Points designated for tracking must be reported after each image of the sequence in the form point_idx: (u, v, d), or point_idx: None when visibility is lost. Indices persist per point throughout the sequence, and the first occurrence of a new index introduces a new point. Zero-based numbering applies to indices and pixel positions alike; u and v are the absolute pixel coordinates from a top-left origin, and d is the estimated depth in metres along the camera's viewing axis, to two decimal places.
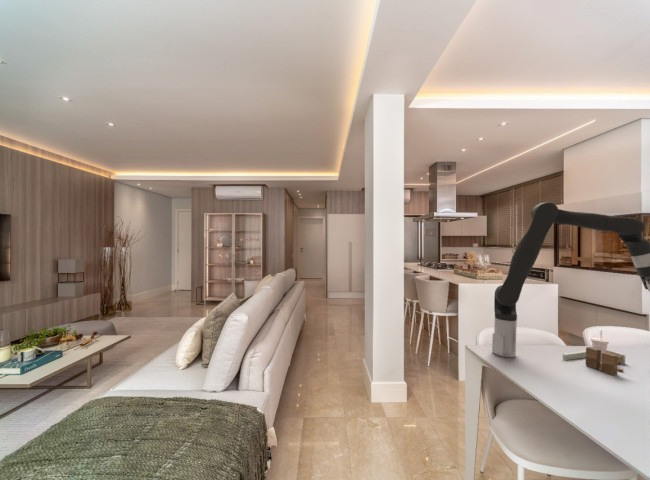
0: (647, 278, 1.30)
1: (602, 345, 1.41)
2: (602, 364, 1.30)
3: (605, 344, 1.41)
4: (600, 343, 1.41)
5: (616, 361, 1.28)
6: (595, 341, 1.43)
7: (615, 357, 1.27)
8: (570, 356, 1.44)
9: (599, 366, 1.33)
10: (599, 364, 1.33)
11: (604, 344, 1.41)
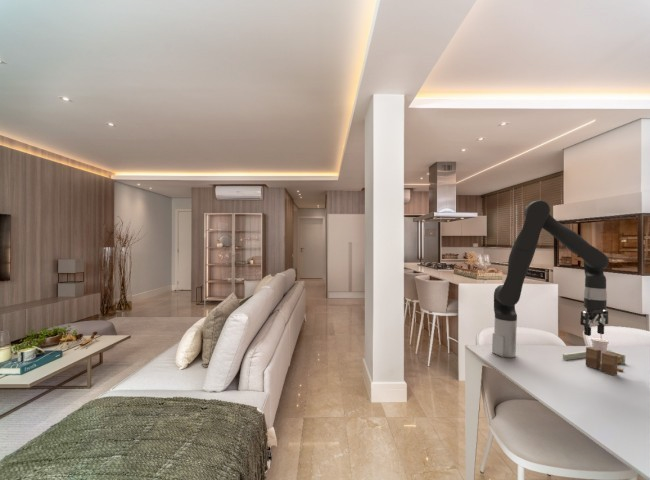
0: None
1: (602, 345, 1.41)
2: (602, 364, 1.30)
3: (605, 344, 1.41)
4: (600, 343, 1.41)
5: (616, 361, 1.28)
6: (595, 341, 1.43)
7: (615, 357, 1.27)
8: (570, 356, 1.44)
9: (599, 366, 1.33)
10: (599, 364, 1.33)
11: (604, 344, 1.41)
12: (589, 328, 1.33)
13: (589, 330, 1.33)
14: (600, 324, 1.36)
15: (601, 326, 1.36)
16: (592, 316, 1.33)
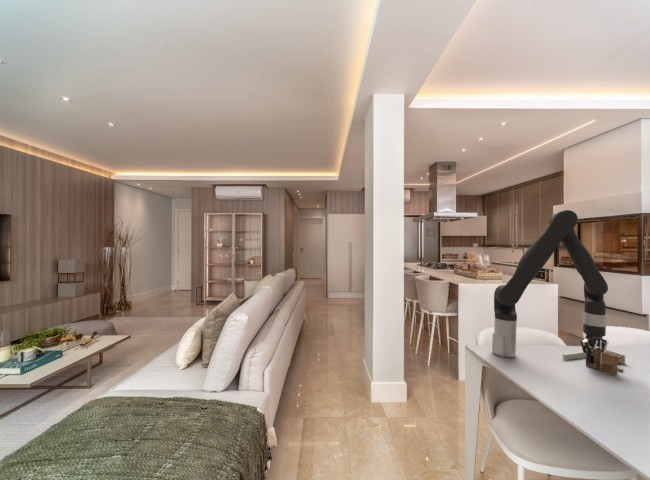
0: None
1: None
2: (602, 364, 1.30)
3: None
4: None
5: (616, 361, 1.28)
6: None
7: (615, 357, 1.27)
8: (570, 356, 1.44)
9: (599, 366, 1.33)
10: (599, 364, 1.33)
11: None
12: (592, 356, 1.34)
13: (592, 358, 1.34)
14: None
15: None
16: (592, 344, 1.33)
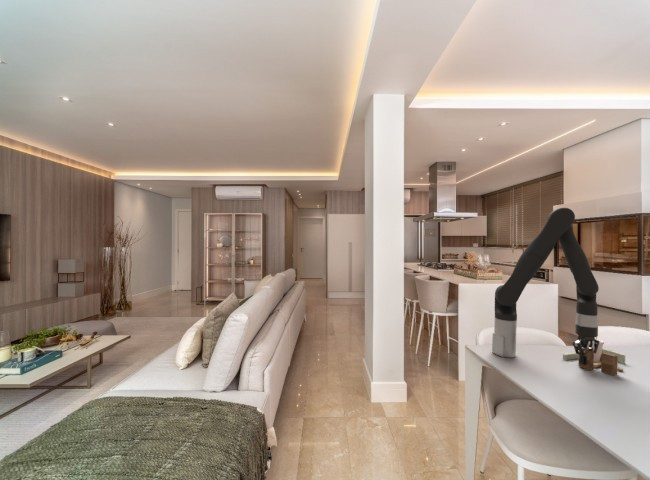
0: None
1: None
2: (602, 364, 1.30)
3: (600, 345, 1.40)
4: None
5: (616, 361, 1.28)
6: None
7: (615, 357, 1.27)
8: (570, 356, 1.44)
9: (591, 367, 1.32)
10: (592, 365, 1.32)
11: (599, 345, 1.40)
12: (584, 357, 1.32)
13: (584, 359, 1.32)
14: None
15: None
16: (584, 345, 1.32)
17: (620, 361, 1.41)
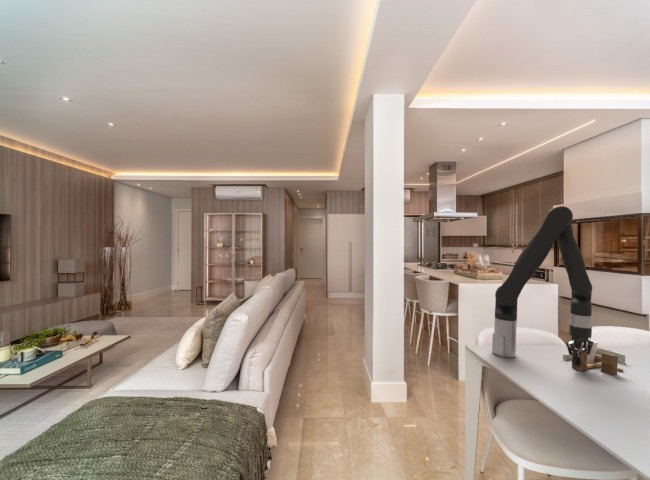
0: None
1: None
2: (602, 364, 1.30)
3: (594, 345, 1.38)
4: None
5: (616, 361, 1.28)
6: None
7: (615, 357, 1.27)
8: (570, 356, 1.44)
9: (585, 368, 1.31)
10: (585, 366, 1.31)
11: (593, 345, 1.38)
12: (578, 358, 1.31)
13: (578, 360, 1.31)
14: None
15: None
16: (578, 345, 1.31)
17: (620, 361, 1.41)
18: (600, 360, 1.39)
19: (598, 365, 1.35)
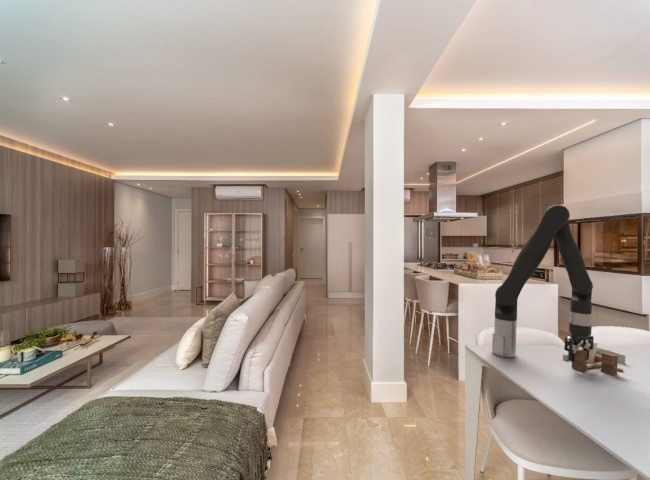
0: None
1: None
2: (602, 364, 1.30)
3: (594, 345, 1.38)
4: (589, 344, 1.39)
5: (616, 361, 1.28)
6: None
7: (615, 357, 1.27)
8: None
9: (585, 368, 1.31)
10: (585, 366, 1.31)
11: (593, 345, 1.38)
12: (573, 354, 1.30)
13: (573, 356, 1.30)
14: (585, 349, 1.34)
15: None
16: (576, 342, 1.30)
17: (620, 361, 1.41)
18: (600, 360, 1.39)
19: (598, 365, 1.35)
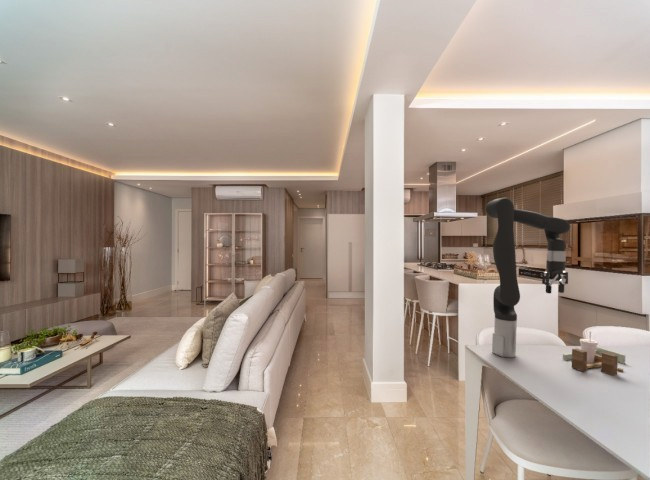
0: None
1: (591, 346, 1.39)
2: (602, 364, 1.30)
3: (594, 345, 1.38)
4: (589, 344, 1.39)
5: (616, 361, 1.28)
6: (584, 342, 1.40)
7: (615, 357, 1.27)
8: (570, 356, 1.44)
9: (585, 368, 1.31)
10: (585, 366, 1.31)
11: (593, 345, 1.38)
12: (550, 286, 1.49)
13: (550, 288, 1.49)
14: (561, 284, 1.52)
15: (561, 286, 1.52)
16: (552, 276, 1.49)
17: (620, 361, 1.41)
18: (600, 360, 1.39)
19: (598, 365, 1.35)
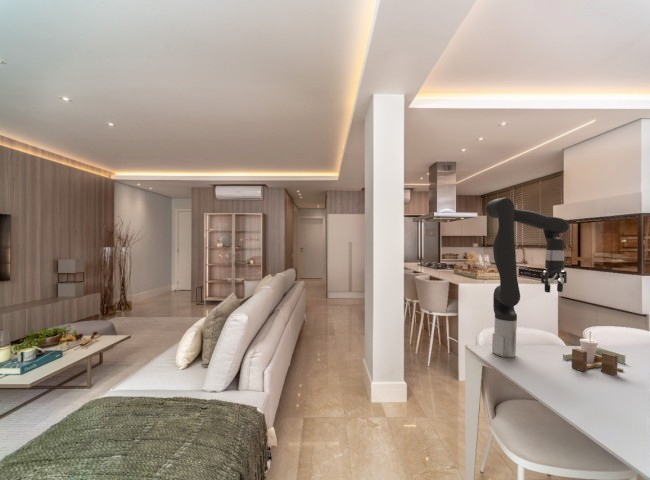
0: None
1: (591, 346, 1.39)
2: (602, 364, 1.30)
3: (594, 345, 1.38)
4: (589, 344, 1.39)
5: (616, 361, 1.28)
6: (584, 342, 1.40)
7: (615, 357, 1.27)
8: (570, 356, 1.44)
9: (585, 368, 1.31)
10: (585, 366, 1.31)
11: (593, 345, 1.38)
12: (548, 285, 1.50)
13: (548, 287, 1.50)
14: (559, 283, 1.53)
15: (560, 285, 1.53)
16: (551, 275, 1.50)
17: (620, 361, 1.41)
18: (600, 360, 1.39)
19: (598, 365, 1.35)
